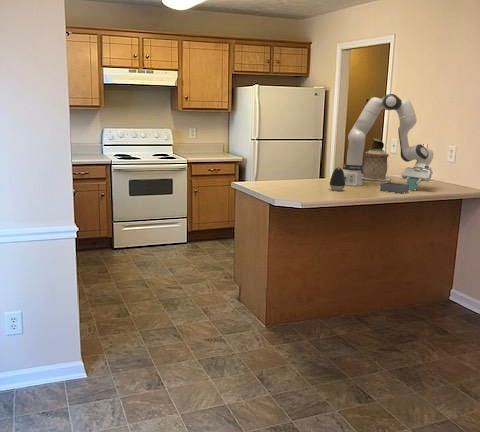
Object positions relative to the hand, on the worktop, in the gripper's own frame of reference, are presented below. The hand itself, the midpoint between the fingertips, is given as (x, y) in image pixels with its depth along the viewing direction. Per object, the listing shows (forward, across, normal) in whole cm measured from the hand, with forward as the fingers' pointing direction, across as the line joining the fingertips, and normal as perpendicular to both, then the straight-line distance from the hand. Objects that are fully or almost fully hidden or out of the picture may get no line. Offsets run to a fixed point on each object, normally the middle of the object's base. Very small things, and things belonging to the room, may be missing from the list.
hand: (411, 183), depth 358 cm
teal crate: (+3, 0, +4) cm, 5 cm away
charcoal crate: (+15, -4, -8) cm, 17 cm away
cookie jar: (-17, -46, +24) cm, 55 cm away
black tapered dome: (+37, -29, -30) cm, 55 cm away
